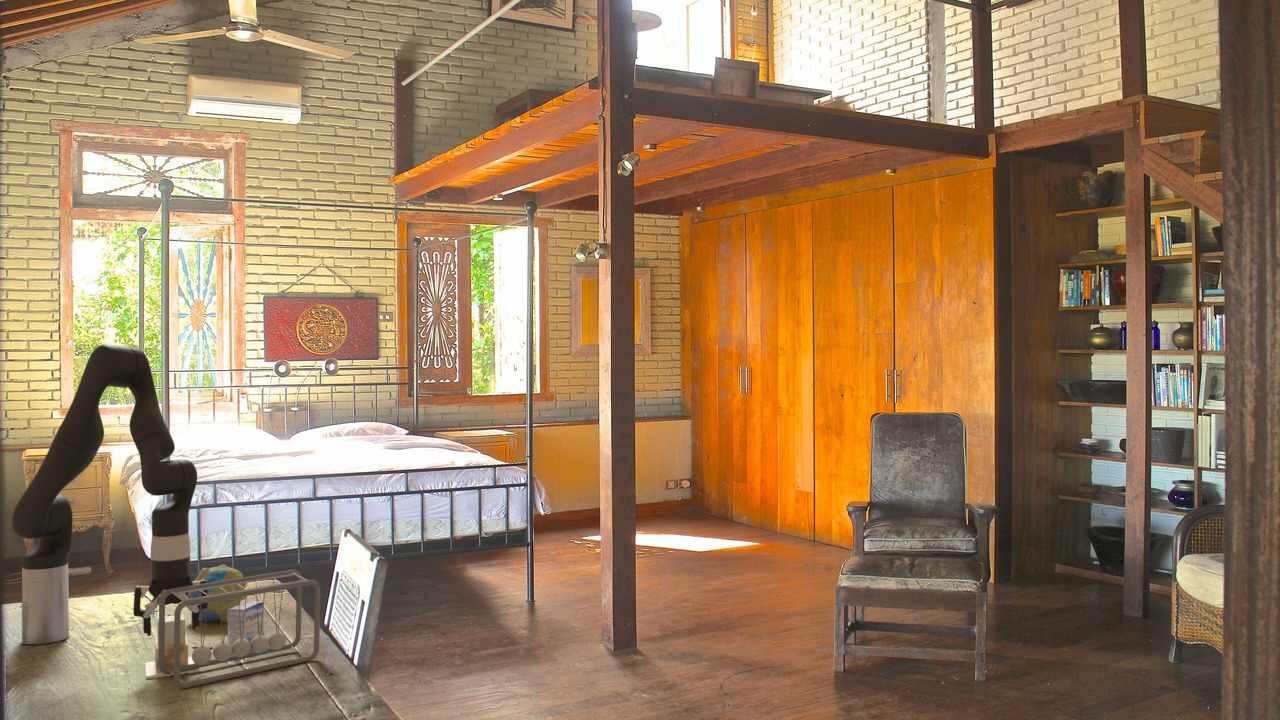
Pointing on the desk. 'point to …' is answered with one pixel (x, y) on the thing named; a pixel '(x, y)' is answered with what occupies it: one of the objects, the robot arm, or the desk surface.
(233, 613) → the medicine box
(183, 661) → the oak block
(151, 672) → the board
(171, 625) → the sage block
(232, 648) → the newton's cradle
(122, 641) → the desk surface
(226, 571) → the globe ball
